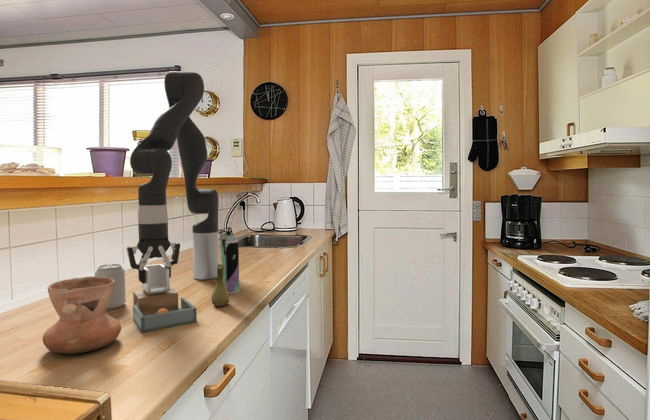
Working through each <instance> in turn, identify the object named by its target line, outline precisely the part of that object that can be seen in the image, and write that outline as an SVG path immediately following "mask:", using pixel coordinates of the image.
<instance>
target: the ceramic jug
mask: <svg viewBox="0 0 650 420" xmlns="http://www.w3.org/2000/svg"><path fill="white" fill-rule="evenodd" d="M114 283H115V281H114V280H113V279H111V278H107V277H96V276H95V275H94V276H92V275H91V276H84V277H83V276H81V277H73V278H70V279H69V278H68V279H67V278H66V279H63V280H59V281H56V282H53V283H50V284H49V285H48V286H47V293H48V297H49V299H50V302H51V304H52V306H53V308H54V310H55V312H56V314H57V315H58V317H59V319H58V320H57V321H56V322H55V323H53V324H52V325H50V326H49V327H48V328H47V329H46V330H45V332H44V333H43V336H42V343H43V345H44V346H45V348H46V349H47V350H48V351H51V352H52V353H56V354H62V355H76V354H83V353H88V352H92V351H96V350H99V349H101V348H103V347H105V346H108V345H110V344H111V343H112V342H114V341H115V340H117V338H118V337H119V335H120V333H121V331H122V325H121V323H120V321H119V320H118V319H116V318H114V317H112V316H110V315H109V314H107V313H106V308H107V306H108V303H109V301H110V298H111V295H112V292H113V288H114Z"/></svg>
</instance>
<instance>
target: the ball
mask: <svg viewBox="0 0 650 420" xmlns="http://www.w3.org/2000/svg"><path fill="white" fill-rule="evenodd" d="M166 312H168V310H167V309H164V308H162V309H159V310H158V311H157V313H156V314H161V313H166Z"/></svg>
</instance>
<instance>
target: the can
mask: <svg viewBox="0 0 650 420" xmlns="http://www.w3.org/2000/svg"><path fill="white" fill-rule="evenodd" d="M122 266H123V265H122V264H121V263H110V264H109V263H108V264H102V265H98V266H96V268H97V270H96V271H95V272H94V276H96V277H107V278H111V279H113V280H114V281H115V283H114V288H113V292H112V295H111V298H110V301H109V303H108V306H107V308H106V310H108V311H109V310H114V309H118V308H122V307H123V306H124V304H125V303H126V301H127V300H126V281H125V280H126V275H125V268H123V267H122ZM106 310H105V311H106Z"/></svg>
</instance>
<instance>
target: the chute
mask: <svg viewBox="0 0 650 420" xmlns="http://www.w3.org/2000/svg"><path fill="white" fill-rule="evenodd" d="M144 270H145V284H142V283H141V287H142V290H145V291H146V292H147V294H151V293H158V292H165V291H170V286H171V285H170V284H171V283H170V278H169V269H168V268H167V267H166V266H165V264H164V263H156V264H148V265H147V264H146V265H145V267H144Z"/></svg>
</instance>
